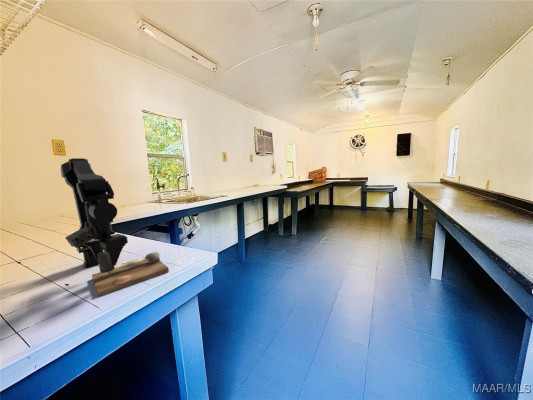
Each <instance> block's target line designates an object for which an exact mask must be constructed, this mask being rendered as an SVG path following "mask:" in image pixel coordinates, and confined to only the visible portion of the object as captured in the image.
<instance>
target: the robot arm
mask: <svg viewBox="0 0 533 400" xmlns="http://www.w3.org/2000/svg"><path fill="white" fill-rule="evenodd" d="M60 173H61V177H62V178H64V181H65V183H66V185H67V186H69V187H70V188H71V189H72V193H73V197H74V200H75V201H74V202H75V206H76V210H77V214H78V219H79V224H80V226H79V229H78V230H76V231H74V232H73V233H71V234H69V235H67V236H66V237H65V240H66V241H67V242H68V244H69V245H70V247H74V248H76V250H77V251H76V252H78V254H82V255H83V260H84V261H83V263H82V264H83V266H84V267H83V268H84V269H87V268H88V269H89V268H92V267H95V266H99V262H98V256H97V254H98V253H100V252H103V251H106V252H107V254H108V257H109V260H110V263H111V265H112V266H116V265H117V264H118V260H119V258H120V255H121V253H122V250H123V248H124V246H126V245H127V244H128V243H129V241H128V236H127V235H124V234H120V233H116V231H115V230H112V229H113V228H112V224H111V223H113V222H114V219H115V218H116V217H117V215H118V209H117V207H116V206H115V204H113V203H111V202H109V200H112V199H113V200H114V199H115V197H114V196H115V192H114V190H113V188H112V186H111V184H110V183H109V181H108V180H107V179H105V178H104V176H102V175H100V174H96V172H94V171H93V169H92V166H91V164H90V163H89V160H88V159H87V158H84V157H82V158H81V157H80V158H78V157H77V158H73V157H72V158H68V160H67V162H64V163H62V164H61V166H60Z"/></svg>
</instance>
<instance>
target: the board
mask: <svg viewBox="0 0 533 400" xmlns="http://www.w3.org/2000/svg"><path fill="white" fill-rule="evenodd" d="M169 270H170V269H169V267H168V266H167V265H166V264H165V263H164V262H162V261H161V260H159V261H158V262H155V263H144V264H141V265H138V266H134V267H131V268H128V269H125V270H121V271H118V272H115V273H111V274H108V272H105V273H101V272H100V271H99V272H97V273H94V274H91V279H92V282H93V285H94V287H95V291H96V293H97V296H98V297H101V296H105V295H108V294H110V293H113V292H117V291H120V290H122V289H124V288H128V287H129V286H133V285H136V284H138V283H142V282H144V281H147V280H150V279H152V278H155V277H159V276H160V275H164V274H166V273H169V272H170V271H169Z"/></svg>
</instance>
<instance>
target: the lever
mask: <svg viewBox="0 0 533 400" xmlns="http://www.w3.org/2000/svg"><path fill="white" fill-rule="evenodd" d="M97 256H98V262H99V265H98V267H99V273H100V272H101V273H105V272H108V274H111V273H115V272H118V271H121V270H125V269H128V268H131V267H134V266H138V265H141V264H144V263H155V262H158V261H159V260H160V253H159V252H156V251H155V252H150V253H148V254H146V255H145V257H141V258H137V259H134V260H130V261H127V262H123V263H120V264H116V265H114V266H112V265H111V263H110V260H109V257H108V254H107V252H106V251H104V250H103V252H100V253H98V254H97ZM160 261H161V260H160Z"/></svg>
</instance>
